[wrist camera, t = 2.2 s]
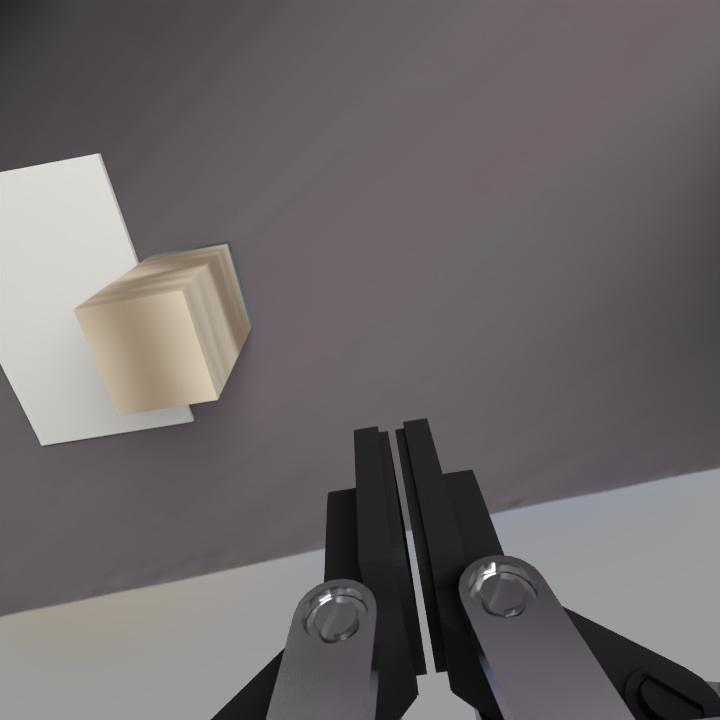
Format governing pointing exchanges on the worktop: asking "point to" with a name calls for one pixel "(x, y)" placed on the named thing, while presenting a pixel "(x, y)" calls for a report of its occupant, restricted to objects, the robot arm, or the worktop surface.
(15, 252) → the mat
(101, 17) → the worktop surface
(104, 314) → the tall block
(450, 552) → the robot arm
